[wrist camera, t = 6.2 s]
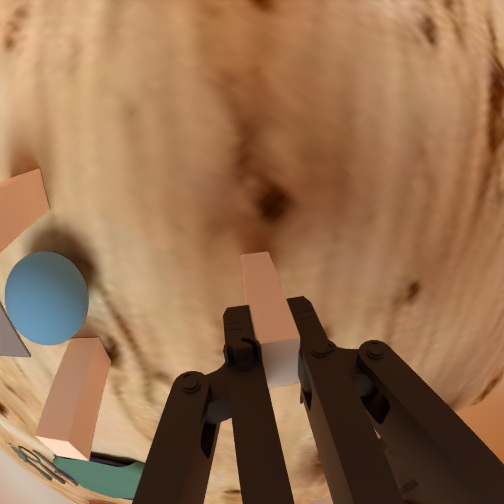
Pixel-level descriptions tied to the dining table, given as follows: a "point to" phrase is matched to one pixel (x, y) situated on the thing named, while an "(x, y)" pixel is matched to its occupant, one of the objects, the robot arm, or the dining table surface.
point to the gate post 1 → (20, 205)
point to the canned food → (99, 502)
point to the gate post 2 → (75, 399)
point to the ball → (46, 298)
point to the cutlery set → (92, 474)
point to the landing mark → (10, 338)
